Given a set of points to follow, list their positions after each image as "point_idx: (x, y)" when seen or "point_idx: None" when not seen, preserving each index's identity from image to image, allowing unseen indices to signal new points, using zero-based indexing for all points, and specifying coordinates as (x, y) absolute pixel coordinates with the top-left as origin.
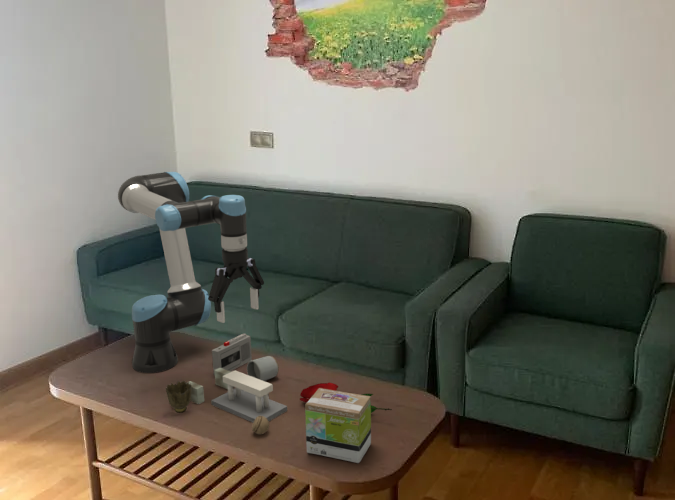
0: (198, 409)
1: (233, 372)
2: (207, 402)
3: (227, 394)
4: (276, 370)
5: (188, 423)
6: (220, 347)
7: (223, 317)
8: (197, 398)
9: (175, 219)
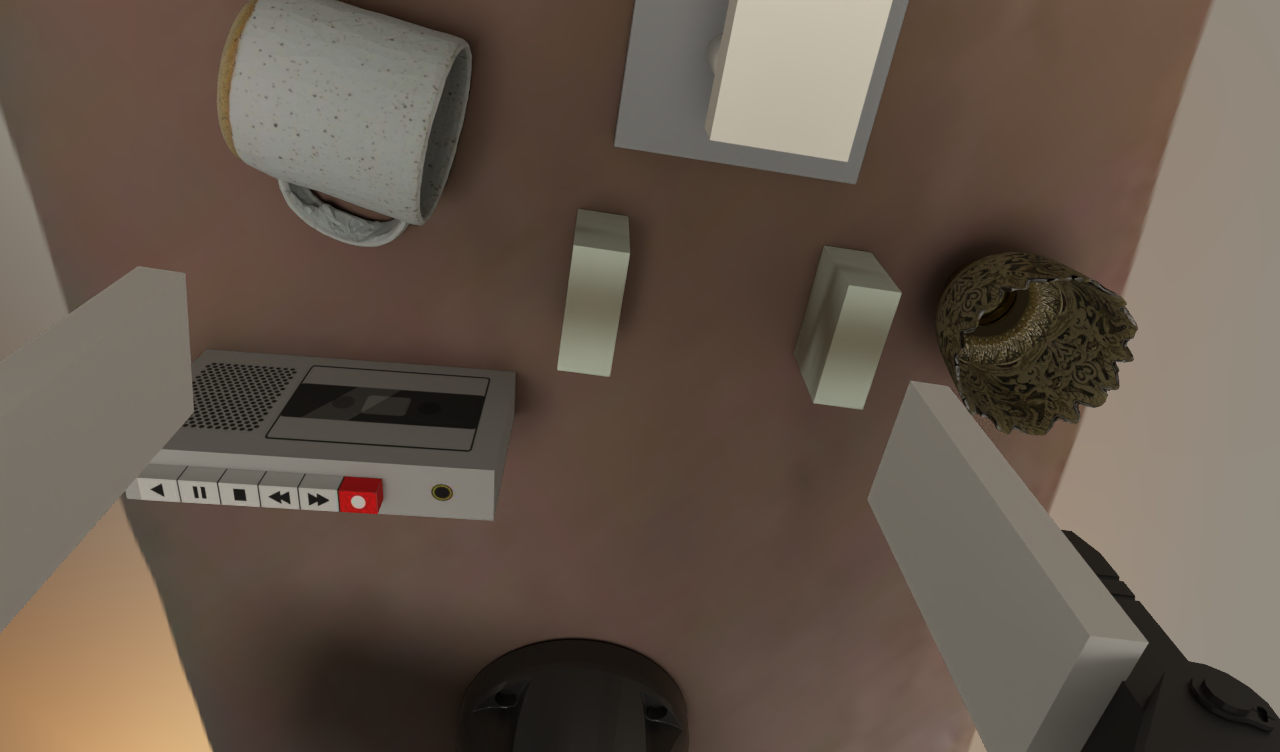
0: (926, 209)
1: (752, 122)
2: (828, 219)
3: None
4: None
5: (1102, 145)
6: (421, 499)
7: (968, 430)
8: (881, 269)
9: None
